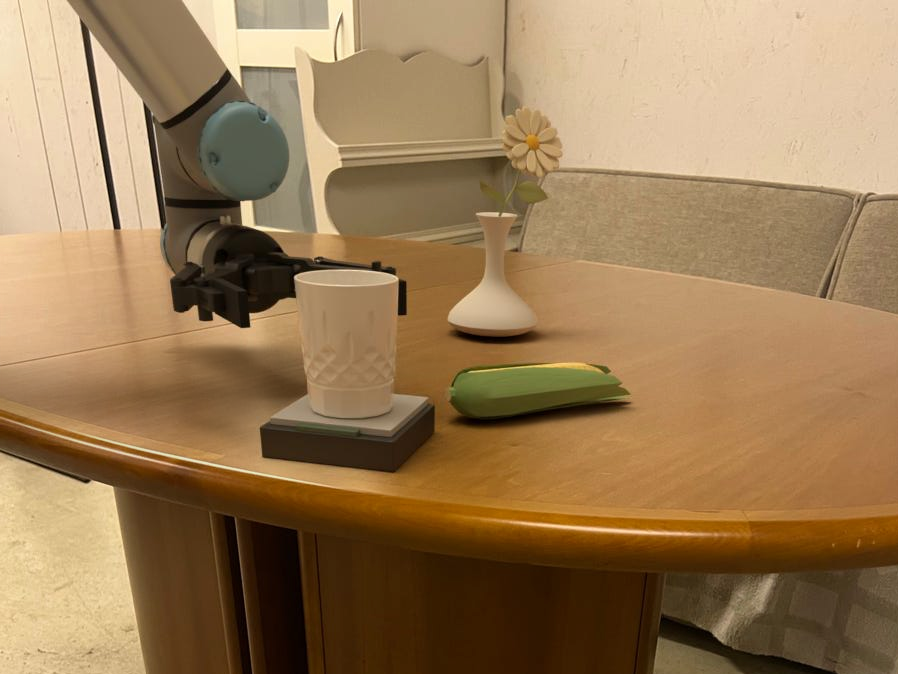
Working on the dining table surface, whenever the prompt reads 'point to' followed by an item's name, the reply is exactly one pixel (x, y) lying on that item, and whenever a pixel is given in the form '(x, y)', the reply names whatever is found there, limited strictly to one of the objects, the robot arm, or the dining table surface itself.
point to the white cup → (348, 340)
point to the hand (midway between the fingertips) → (327, 303)
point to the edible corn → (530, 388)
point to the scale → (349, 435)
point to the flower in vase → (493, 299)
